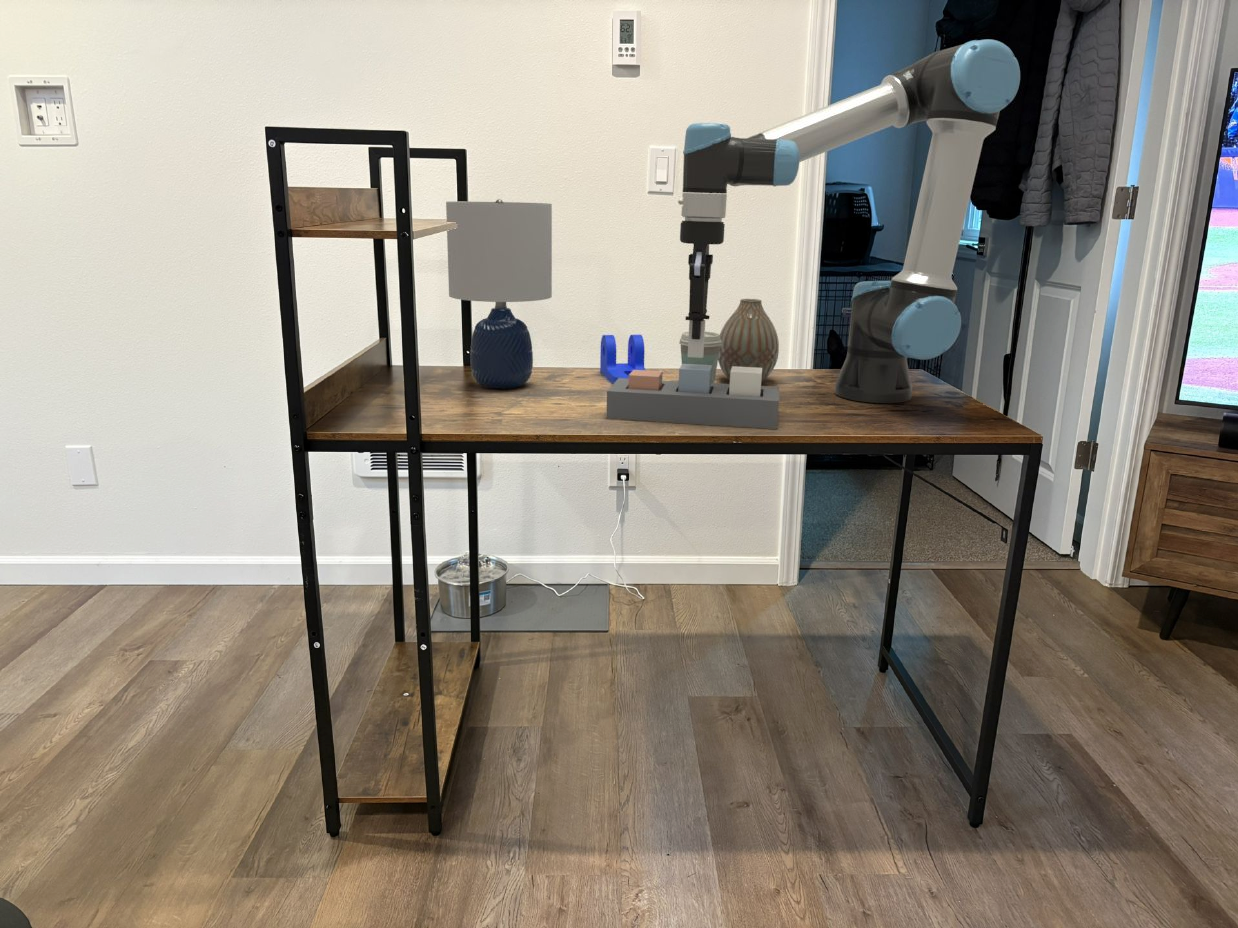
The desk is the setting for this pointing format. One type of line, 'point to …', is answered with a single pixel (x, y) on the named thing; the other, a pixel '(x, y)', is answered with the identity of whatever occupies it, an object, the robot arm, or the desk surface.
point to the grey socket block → (693, 405)
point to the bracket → (621, 369)
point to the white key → (745, 381)
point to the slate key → (695, 378)
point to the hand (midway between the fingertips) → (695, 356)
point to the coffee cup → (710, 351)
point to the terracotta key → (645, 380)
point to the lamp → (500, 280)
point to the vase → (749, 339)
